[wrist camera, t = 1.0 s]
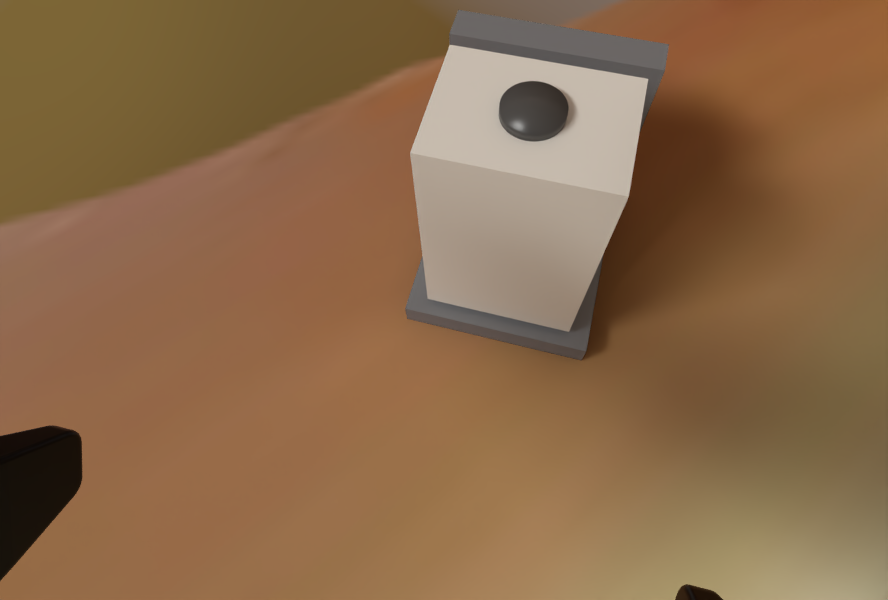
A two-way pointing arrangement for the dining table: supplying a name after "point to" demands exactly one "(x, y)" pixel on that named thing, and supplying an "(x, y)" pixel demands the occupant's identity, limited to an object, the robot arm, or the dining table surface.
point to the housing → (559, 49)
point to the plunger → (522, 181)
